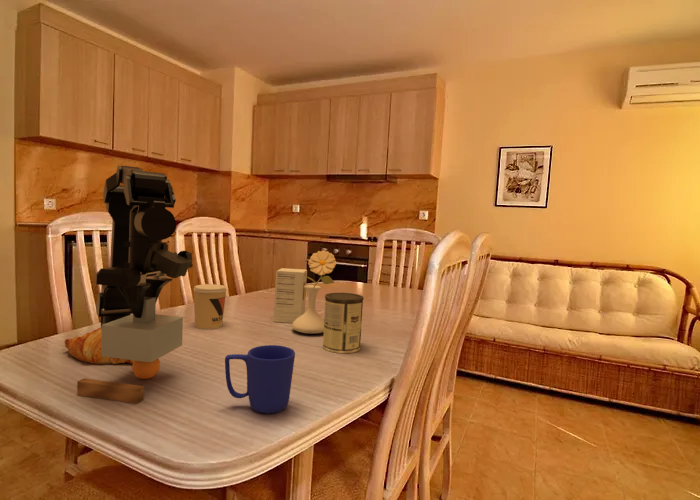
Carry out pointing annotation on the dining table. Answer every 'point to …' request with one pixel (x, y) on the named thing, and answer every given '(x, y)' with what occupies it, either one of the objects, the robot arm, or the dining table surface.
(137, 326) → the cover
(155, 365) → the ball
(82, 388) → the walnut strip
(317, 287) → the flower in vase
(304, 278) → the supplement box
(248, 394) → the mug
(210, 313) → the coffee cup
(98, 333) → the croissant
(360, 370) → the dining table surface
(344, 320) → the coffee can
